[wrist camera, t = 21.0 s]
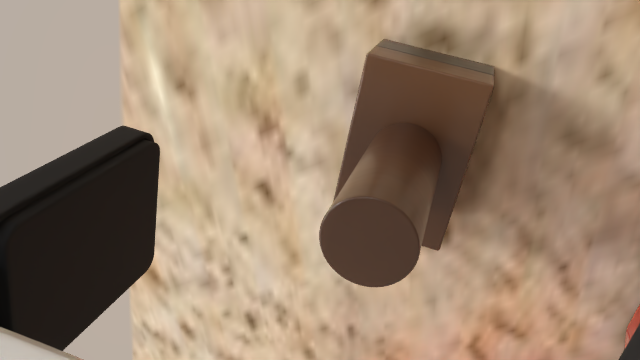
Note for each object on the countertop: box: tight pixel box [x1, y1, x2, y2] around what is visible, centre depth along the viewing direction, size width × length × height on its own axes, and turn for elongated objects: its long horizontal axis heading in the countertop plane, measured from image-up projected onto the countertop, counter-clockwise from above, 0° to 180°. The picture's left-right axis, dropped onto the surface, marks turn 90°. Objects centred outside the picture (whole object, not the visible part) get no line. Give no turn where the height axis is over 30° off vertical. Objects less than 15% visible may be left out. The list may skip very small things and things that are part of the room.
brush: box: [319, 39, 494, 287], centre depth 17 cm, size 6×4×9 cm, turn 169°
